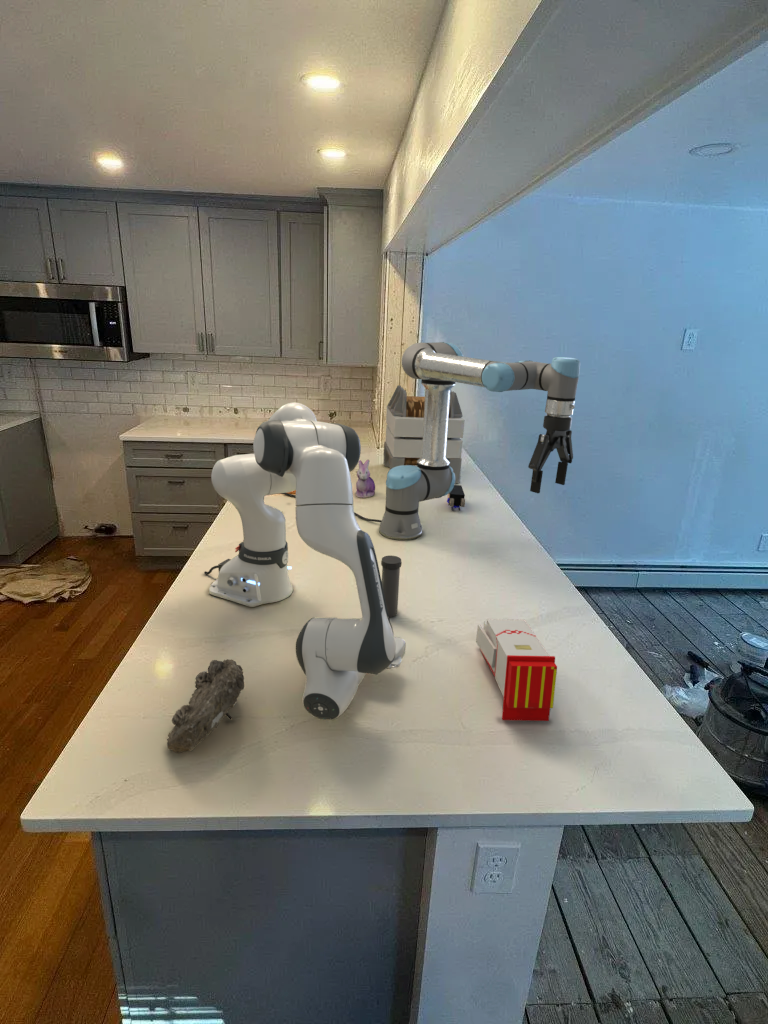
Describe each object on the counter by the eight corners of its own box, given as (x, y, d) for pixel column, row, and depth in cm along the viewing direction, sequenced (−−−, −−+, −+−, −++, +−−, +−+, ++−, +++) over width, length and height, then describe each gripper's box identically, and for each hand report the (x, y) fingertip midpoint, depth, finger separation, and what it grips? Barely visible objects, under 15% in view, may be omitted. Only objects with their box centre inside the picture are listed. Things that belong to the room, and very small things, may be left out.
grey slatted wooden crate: (382, 463, 289) (386, 382, 275) (445, 464, 293) (451, 384, 279) (390, 482, 257) (394, 392, 243) (460, 483, 261) (468, 394, 247)
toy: (523, 604, 135) (566, 662, 106) (518, 656, 138) (559, 727, 109) (472, 603, 135) (501, 661, 105) (468, 655, 138) (496, 726, 108)
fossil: (192, 660, 117) (244, 628, 112) (224, 691, 120) (276, 661, 115) (142, 746, 98) (202, 712, 93) (182, 779, 101) (242, 748, 96)
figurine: (360, 499, 233) (361, 464, 228) (349, 492, 242) (350, 458, 237) (380, 497, 237) (381, 462, 232) (369, 490, 246) (370, 456, 241)
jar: (380, 607, 150) (382, 556, 145) (397, 608, 150) (400, 557, 145) (379, 616, 146) (382, 564, 141) (397, 617, 146) (400, 565, 141)
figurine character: (465, 515, 224) (460, 499, 237) (467, 498, 221) (462, 483, 234) (448, 515, 224) (444, 499, 237) (450, 498, 220) (445, 482, 234)
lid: (381, 560, 146) (381, 554, 145) (401, 561, 146) (401, 555, 145) (380, 569, 141) (380, 563, 140) (401, 570, 141) (401, 564, 140)
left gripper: (398, 656, 113) (413, 622, 126) (303, 637, 118) (327, 606, 131) (396, 682, 116) (411, 646, 128) (303, 662, 120) (327, 629, 133)
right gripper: (546, 421, 147) (535, 499, 154) (592, 413, 163) (580, 483, 171) (521, 417, 152) (512, 492, 159) (569, 409, 168) (558, 477, 176)
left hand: (368, 626), depth 130 cm, fingers open, 8 cm apart
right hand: (547, 487), depth 165 cm, fingers open, 13 cm apart
